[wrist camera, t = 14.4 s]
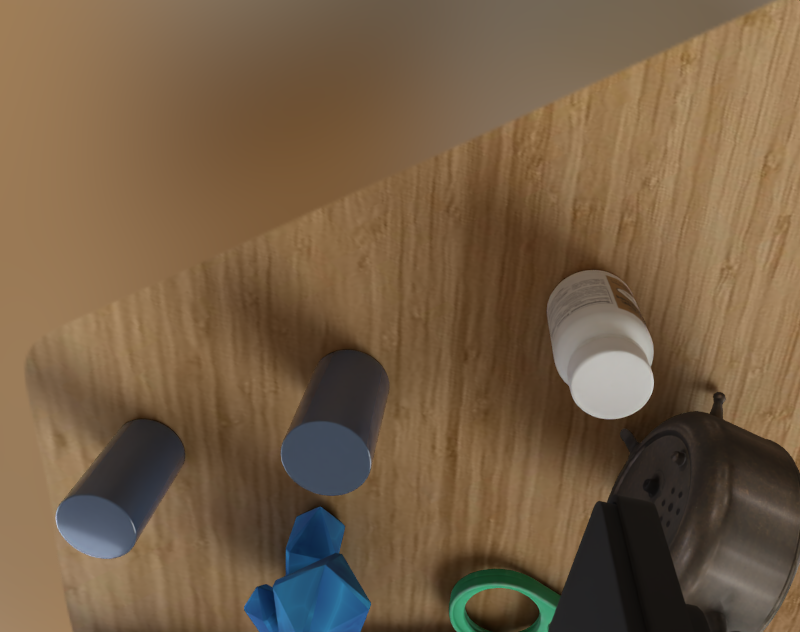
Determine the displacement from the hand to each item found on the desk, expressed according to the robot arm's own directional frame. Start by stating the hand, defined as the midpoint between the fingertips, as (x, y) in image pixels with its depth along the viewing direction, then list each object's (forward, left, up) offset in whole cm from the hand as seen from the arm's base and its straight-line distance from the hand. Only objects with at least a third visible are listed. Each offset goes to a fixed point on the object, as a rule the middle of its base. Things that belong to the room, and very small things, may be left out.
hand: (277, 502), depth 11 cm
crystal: (+27, -2, -26) cm, 38 cm away
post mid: (+15, -1, -26) cm, 30 cm away
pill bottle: (+7, +10, -26) cm, 29 cm away
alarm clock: (+15, +16, -26) cm, 34 cm away
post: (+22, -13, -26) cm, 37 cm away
